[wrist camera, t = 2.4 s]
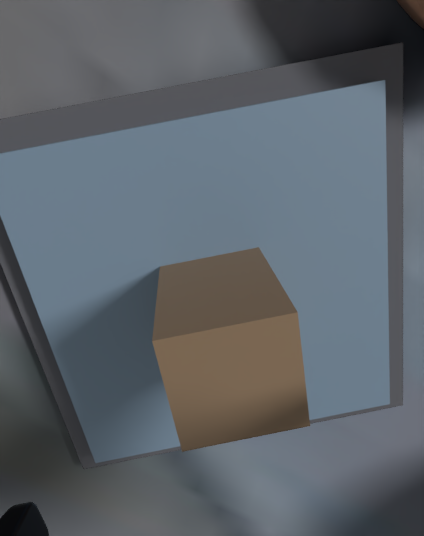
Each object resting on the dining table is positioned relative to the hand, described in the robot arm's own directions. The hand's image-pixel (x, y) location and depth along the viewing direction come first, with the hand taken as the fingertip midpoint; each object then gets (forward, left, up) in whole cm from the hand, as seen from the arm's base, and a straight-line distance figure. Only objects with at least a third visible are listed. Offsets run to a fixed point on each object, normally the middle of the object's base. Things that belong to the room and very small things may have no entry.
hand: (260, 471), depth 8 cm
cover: (0, 0, -8) cm, 8 cm away
